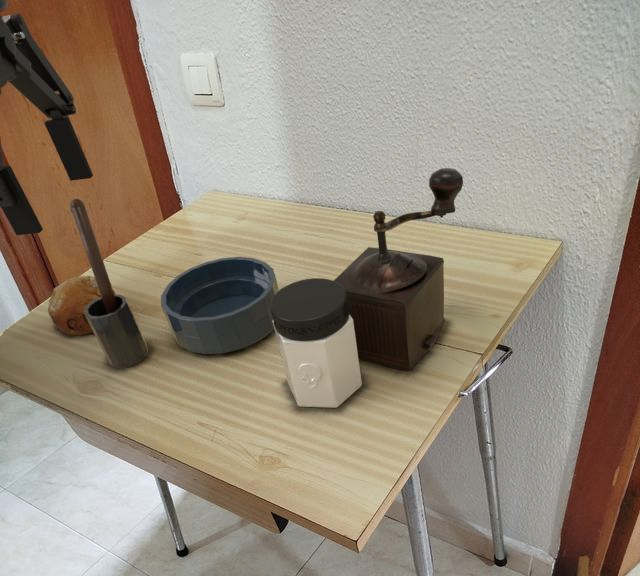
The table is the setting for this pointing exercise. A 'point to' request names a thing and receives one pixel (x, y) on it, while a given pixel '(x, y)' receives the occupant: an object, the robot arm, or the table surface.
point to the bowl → (221, 305)
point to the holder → (117, 332)
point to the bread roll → (73, 304)
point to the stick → (94, 255)
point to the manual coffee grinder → (400, 288)
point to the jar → (316, 342)
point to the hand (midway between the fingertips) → (57, 203)
